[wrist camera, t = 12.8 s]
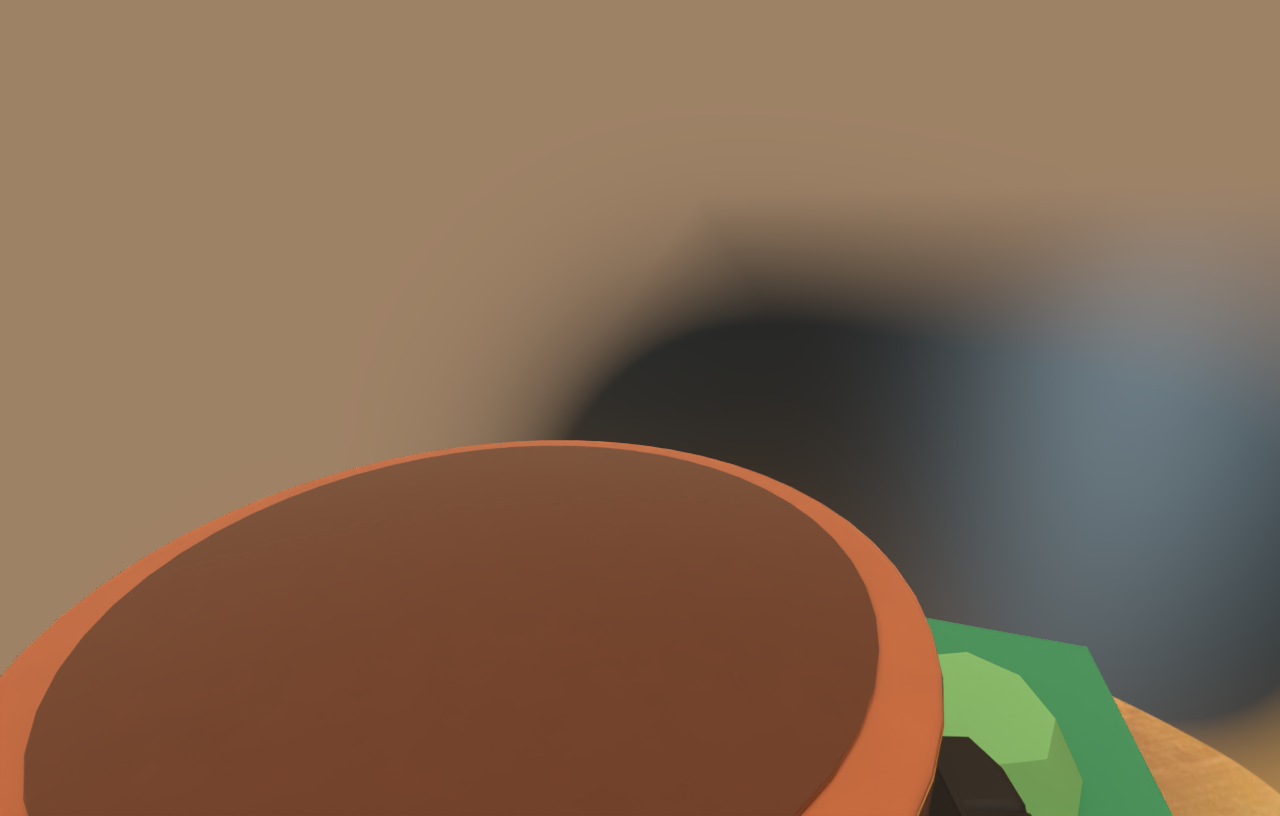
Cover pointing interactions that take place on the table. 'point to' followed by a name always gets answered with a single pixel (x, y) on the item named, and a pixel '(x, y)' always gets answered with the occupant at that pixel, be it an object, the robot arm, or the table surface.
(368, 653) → the cup
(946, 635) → the toy tank
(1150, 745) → the table surface
